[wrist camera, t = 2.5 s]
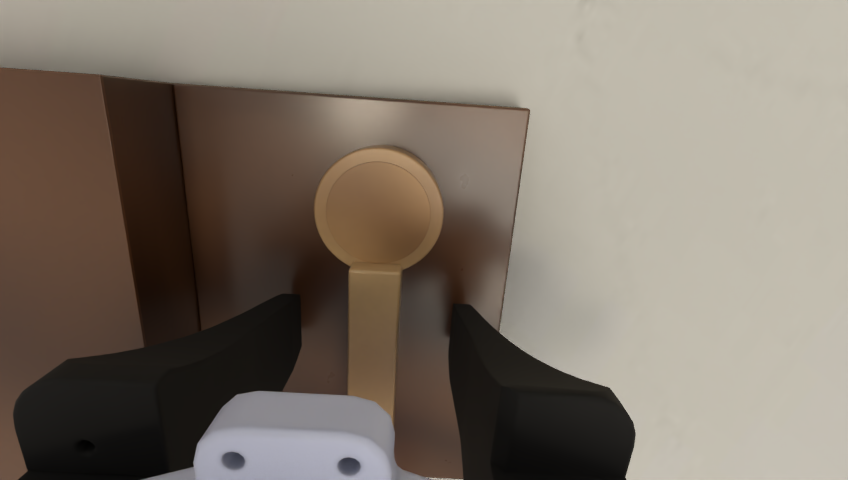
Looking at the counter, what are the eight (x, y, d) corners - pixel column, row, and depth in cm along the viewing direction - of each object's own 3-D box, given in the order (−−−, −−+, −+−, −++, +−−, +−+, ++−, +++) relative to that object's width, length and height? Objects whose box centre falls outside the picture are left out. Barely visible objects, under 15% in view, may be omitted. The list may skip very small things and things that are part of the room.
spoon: (422, 449, 16) (422, 489, 15) (324, 445, 16) (312, 483, 15) (447, 149, 13) (450, 154, 11) (320, 140, 13) (305, 145, 11)
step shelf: (475, 457, 18) (489, 550, 14) (22, 435, 18) (-90, 525, 14) (522, 108, 14) (561, 107, 10) (-87, 65, 13) (-300, 45, 9)
